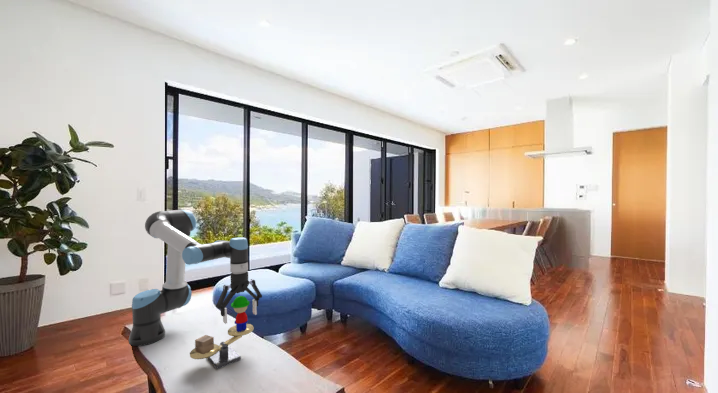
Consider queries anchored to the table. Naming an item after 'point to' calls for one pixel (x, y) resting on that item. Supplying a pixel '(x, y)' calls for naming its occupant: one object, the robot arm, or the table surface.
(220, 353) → the balance
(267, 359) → the table surface
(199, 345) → the walnut block
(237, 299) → the toy
